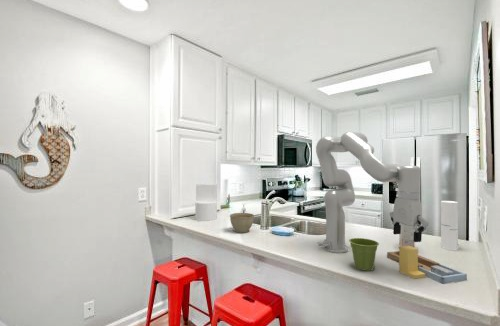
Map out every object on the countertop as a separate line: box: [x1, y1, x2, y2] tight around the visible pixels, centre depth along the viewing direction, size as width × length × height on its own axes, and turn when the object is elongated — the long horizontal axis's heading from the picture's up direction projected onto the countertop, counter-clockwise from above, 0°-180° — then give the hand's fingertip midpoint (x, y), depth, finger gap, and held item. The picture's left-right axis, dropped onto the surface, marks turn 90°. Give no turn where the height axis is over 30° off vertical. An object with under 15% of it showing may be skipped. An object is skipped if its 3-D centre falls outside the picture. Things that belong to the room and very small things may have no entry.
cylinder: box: [194, 183, 218, 222], centre depth 206 cm, size 17×17×28 cm
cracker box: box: [398, 223, 416, 248], centre depth 132 cm, size 14×6×21 cm, turn 154°
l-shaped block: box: [398, 246, 426, 280], centre depth 100 cm, size 5×7×11 cm
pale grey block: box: [431, 265, 445, 275], centre depth 100 cm, size 3×3×3 cm
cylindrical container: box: [440, 200, 459, 252], centre depth 135 cm, size 7×7×25 cm
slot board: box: [386, 250, 440, 271], centre depth 112 cm, size 11×16×4 cm, turn 15°
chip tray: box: [418, 263, 468, 285], centre depth 99 cm, size 12×10×3 cm
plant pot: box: [348, 237, 380, 272], centre depth 109 cm, size 12×12×11 cm
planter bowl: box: [229, 212, 255, 234], centre depth 168 cm, size 16×16×11 cm
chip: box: [438, 269, 453, 276], centre depth 97 cm, size 3×3×3 cm
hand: (406, 237), depth 102 cm, fingers open, 9 cm apart
